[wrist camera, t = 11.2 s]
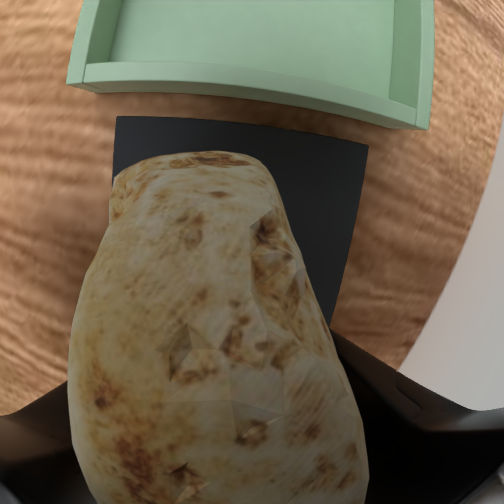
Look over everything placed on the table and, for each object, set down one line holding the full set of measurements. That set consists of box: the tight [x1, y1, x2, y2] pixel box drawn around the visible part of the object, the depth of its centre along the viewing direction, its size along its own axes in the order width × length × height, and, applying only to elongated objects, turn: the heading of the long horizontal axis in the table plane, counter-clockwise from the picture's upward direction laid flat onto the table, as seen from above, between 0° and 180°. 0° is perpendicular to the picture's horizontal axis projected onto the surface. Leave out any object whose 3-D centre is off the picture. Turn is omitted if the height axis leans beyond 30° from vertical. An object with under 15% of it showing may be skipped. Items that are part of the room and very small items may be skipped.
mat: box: [112, 116, 369, 327], centre depth 12 cm, size 9×12×1 cm
